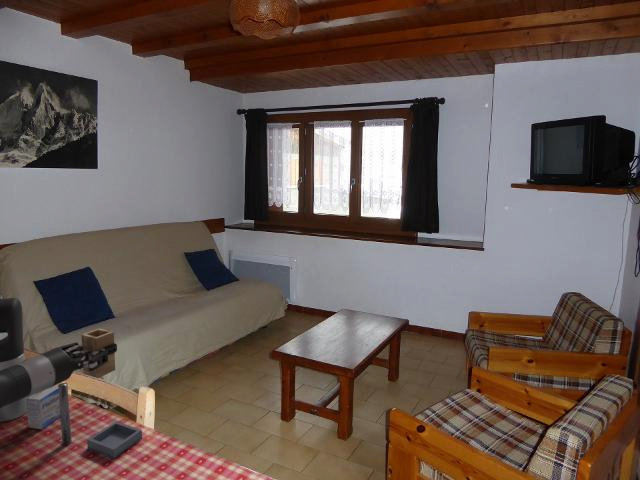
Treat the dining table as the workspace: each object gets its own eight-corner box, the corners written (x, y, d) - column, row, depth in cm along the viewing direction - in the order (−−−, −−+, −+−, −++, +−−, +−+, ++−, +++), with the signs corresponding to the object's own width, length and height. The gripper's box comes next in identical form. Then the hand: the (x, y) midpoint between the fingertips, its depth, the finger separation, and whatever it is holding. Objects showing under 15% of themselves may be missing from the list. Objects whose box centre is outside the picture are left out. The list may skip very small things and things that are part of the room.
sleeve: (83, 373, 110) (81, 334, 108) (100, 365, 114) (99, 328, 113) (98, 378, 108) (96, 338, 106) (115, 370, 112) (113, 331, 111)
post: (61, 442, 115) (57, 384, 112) (70, 439, 116) (66, 382, 114) (63, 446, 114) (58, 387, 111) (71, 443, 115) (68, 385, 112)
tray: (87, 448, 113) (87, 439, 113) (116, 429, 121) (116, 421, 121) (114, 458, 110) (113, 449, 109) (142, 438, 118) (141, 430, 117)
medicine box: (42, 430, 120) (39, 400, 118) (27, 427, 121) (25, 398, 119) (64, 414, 128) (62, 386, 126) (50, 412, 128) (48, 384, 127)
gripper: (63, 362, 94) (128, 335, 109) (19, 349, 100) (86, 325, 115) (65, 396, 95) (129, 365, 110) (21, 380, 101) (88, 353, 116)
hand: (107, 345), depth 112 cm, fingers closed on sleeve, 5 cm apart
